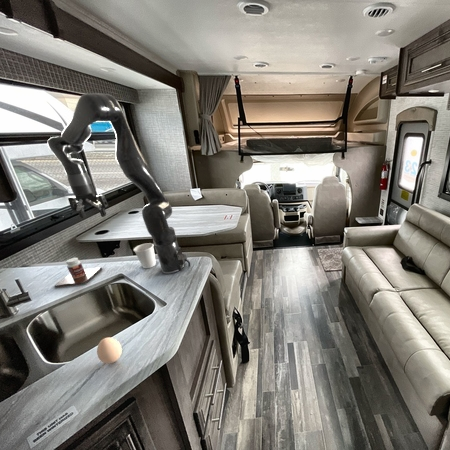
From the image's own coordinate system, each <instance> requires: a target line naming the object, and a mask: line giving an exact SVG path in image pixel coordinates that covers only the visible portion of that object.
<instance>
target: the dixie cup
mask: <svg viewBox="0 0 450 450" xmlns="http://www.w3.org/2000/svg"><path fill="white" fill-rule="evenodd" d="M133 252H134V253H135V255H136V257H137V259H138V260H139V262H140V265H141V267H142V268H143V269H150V268H152V267H154V266H156V265H157V261H156V255H155V246H154V243H151V242H149V243H147V242H146V243H142V244H139V245H136V246H135V247H133Z"/></svg>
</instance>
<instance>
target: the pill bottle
mask: <svg viewBox="0 0 450 450" xmlns="http://www.w3.org/2000/svg"><path fill="white" fill-rule="evenodd" d="M65 264H67V265H66V267H67V270H68V272H69V274H71V276H72V278H80V277H82V276H84V275H85V271H84V269H85V268H84V267H83V264H82V262H81V261H80V260H79V258H78V257H72V258H69V259H67V260H66V261H65Z"/></svg>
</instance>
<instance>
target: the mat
mask: <svg viewBox="0 0 450 450" xmlns="http://www.w3.org/2000/svg"><path fill="white" fill-rule="evenodd" d="M83 269H84V271H85V275H84V276H82V277H80V278H72V276H71V274H70V273H69V274H67V275H66V276H65V277H63V278H62V279H61V280H60V281H58V282H56V284H54V285H53V286H54V288H61V287H63V288H64V287H70V286H71V287H72V286H80V285H86V284H87V283H88V282H90V281H91V280H92V279H93V278H94V277H95V276H96V275H97V274H99V272H101V271H102V269H103V268H102V267H93V268H83Z"/></svg>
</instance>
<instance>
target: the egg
mask: <svg viewBox="0 0 450 450" xmlns="http://www.w3.org/2000/svg"><path fill="white" fill-rule="evenodd" d="M122 348H123V347H122V345H121V343H120V341H118V340H117V339H116V338H113V337H104V338H102V339H101V340H100V341H99V343H98V344H97V348H96V354H97V355H96V356H97V358H98V359H99V360H100V362H102V363H104V364H113V363H115V362H117V361H118V360H119V359H120V357H121V355H122V353H123V349H122Z"/></svg>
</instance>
